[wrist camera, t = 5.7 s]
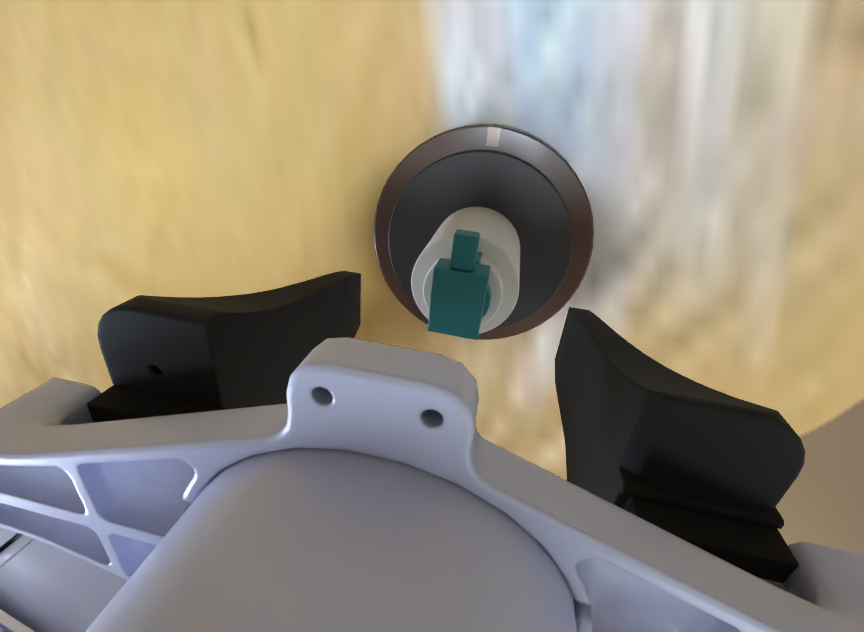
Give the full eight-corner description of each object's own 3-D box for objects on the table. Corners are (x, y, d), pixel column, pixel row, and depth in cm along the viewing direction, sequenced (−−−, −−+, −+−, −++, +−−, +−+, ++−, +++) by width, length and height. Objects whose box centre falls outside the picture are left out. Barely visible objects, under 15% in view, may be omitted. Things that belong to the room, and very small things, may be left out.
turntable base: (376, 314, 25) (370, 322, 24) (382, 112, 20) (374, 112, 19) (561, 346, 23) (563, 357, 22) (620, 138, 18) (626, 139, 17)
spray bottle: (548, 338, 22) (558, 438, 15) (387, 310, 23) (332, 391, 17) (595, 162, 18) (637, 196, 11) (395, 138, 19) (326, 155, 12)
